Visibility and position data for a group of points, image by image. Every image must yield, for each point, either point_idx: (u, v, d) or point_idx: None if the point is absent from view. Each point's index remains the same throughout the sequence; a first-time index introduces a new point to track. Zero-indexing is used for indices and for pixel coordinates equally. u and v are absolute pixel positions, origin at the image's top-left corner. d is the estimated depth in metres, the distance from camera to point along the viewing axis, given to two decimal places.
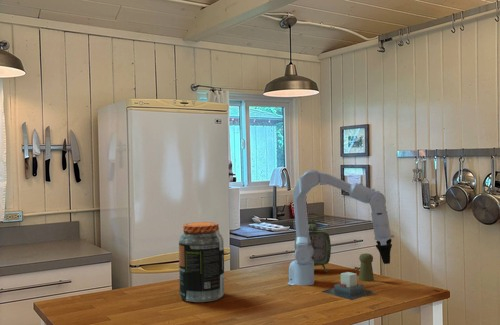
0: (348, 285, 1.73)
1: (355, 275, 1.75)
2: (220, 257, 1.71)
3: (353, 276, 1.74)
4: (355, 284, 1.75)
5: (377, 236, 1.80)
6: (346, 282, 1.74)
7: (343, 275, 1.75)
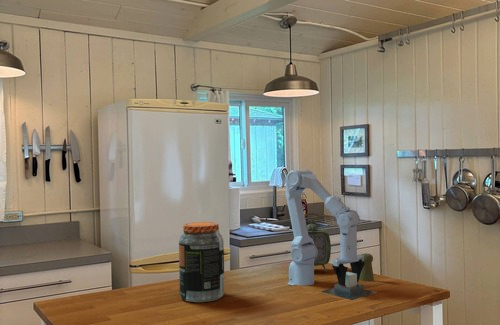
0: (348, 285, 1.73)
1: (355, 275, 1.75)
2: (220, 257, 1.71)
3: (353, 276, 1.74)
4: (355, 284, 1.75)
5: (340, 256, 1.76)
6: (346, 282, 1.74)
7: None
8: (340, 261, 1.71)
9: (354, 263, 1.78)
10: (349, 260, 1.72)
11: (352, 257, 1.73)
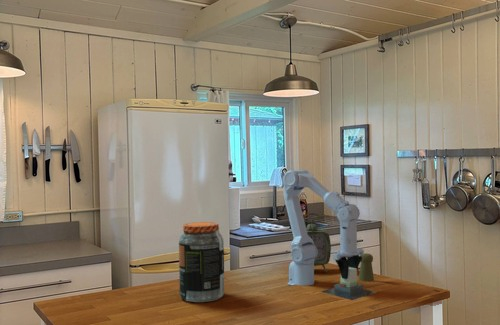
0: (348, 280, 1.73)
1: (355, 270, 1.75)
2: (220, 257, 1.71)
3: (353, 271, 1.74)
4: (355, 279, 1.75)
5: (340, 249, 1.76)
6: None
7: None
8: (340, 255, 1.71)
9: (351, 258, 1.77)
10: (349, 254, 1.72)
11: (352, 251, 1.73)
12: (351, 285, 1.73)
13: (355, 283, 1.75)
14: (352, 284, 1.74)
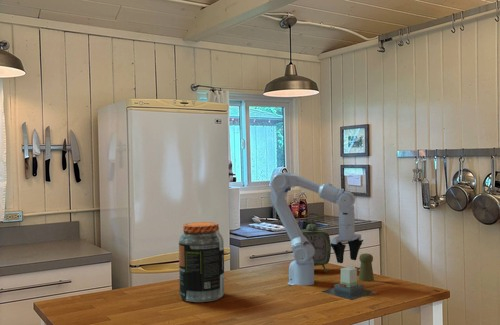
0: (348, 280, 1.73)
1: (355, 270, 1.75)
2: (220, 257, 1.71)
3: (353, 271, 1.74)
4: (355, 279, 1.75)
5: (339, 234, 1.83)
6: (346, 277, 1.74)
7: (343, 270, 1.75)
8: (338, 239, 1.78)
9: (352, 242, 1.85)
10: (347, 238, 1.79)
11: (350, 235, 1.80)
12: (351, 285, 1.73)
13: (355, 283, 1.75)
14: (352, 284, 1.74)
